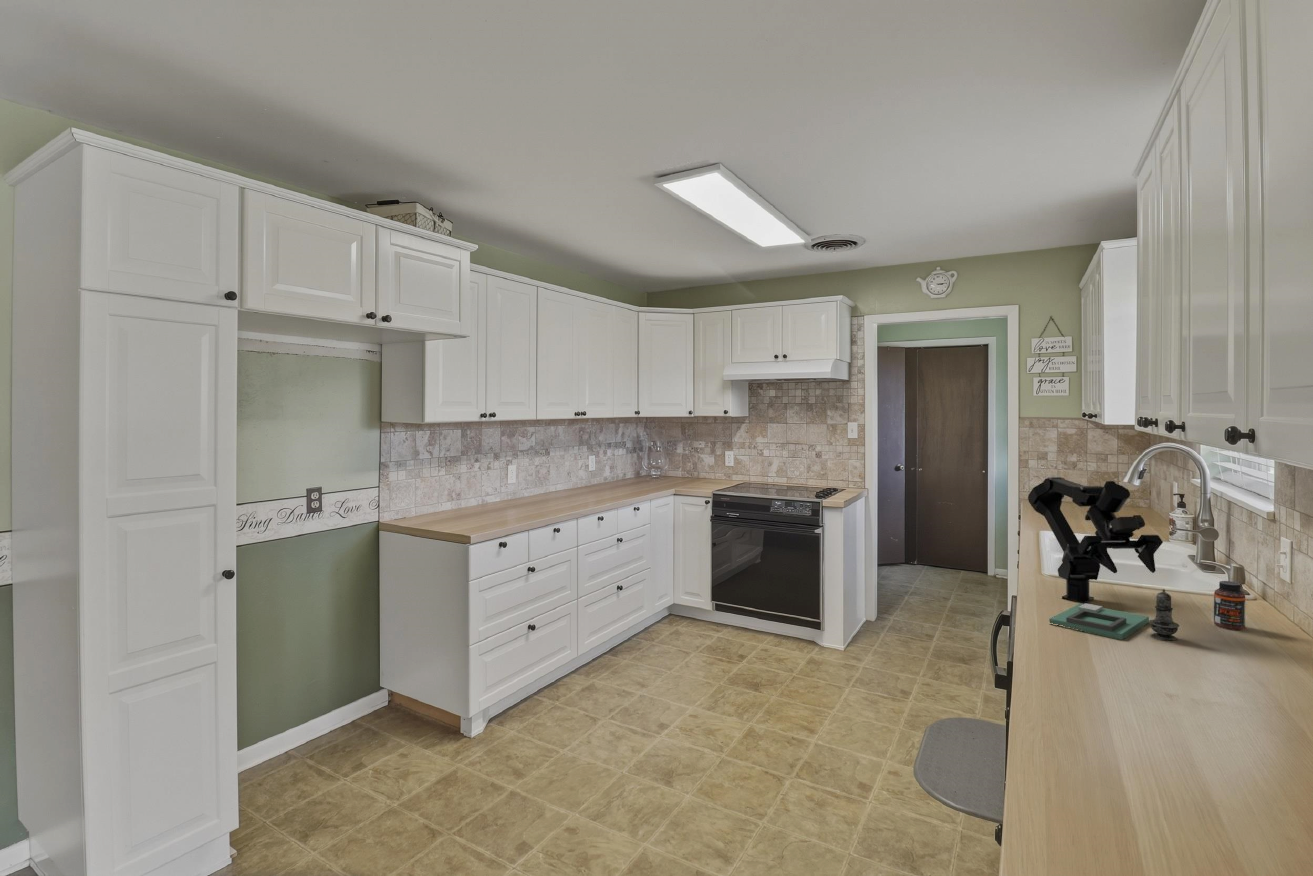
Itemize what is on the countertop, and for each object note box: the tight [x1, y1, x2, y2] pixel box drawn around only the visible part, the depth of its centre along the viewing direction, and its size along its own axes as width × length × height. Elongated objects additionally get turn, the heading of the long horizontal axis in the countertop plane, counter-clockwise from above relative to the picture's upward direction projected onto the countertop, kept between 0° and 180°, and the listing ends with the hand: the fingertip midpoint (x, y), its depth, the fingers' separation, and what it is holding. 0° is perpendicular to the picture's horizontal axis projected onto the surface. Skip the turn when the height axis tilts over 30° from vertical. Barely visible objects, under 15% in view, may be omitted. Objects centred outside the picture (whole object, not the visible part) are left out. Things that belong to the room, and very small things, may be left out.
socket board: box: [1048, 602, 1150, 641], centre depth 168 cm, size 20×16×3 cm
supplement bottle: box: [1213, 580, 1246, 631], centre depth 162 cm, size 6×6×11 cm
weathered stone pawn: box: [1148, 588, 1180, 642], centre depth 156 cm, size 6×6×12 cm
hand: (1134, 572), depth 164 cm, fingers open, 9 cm apart
